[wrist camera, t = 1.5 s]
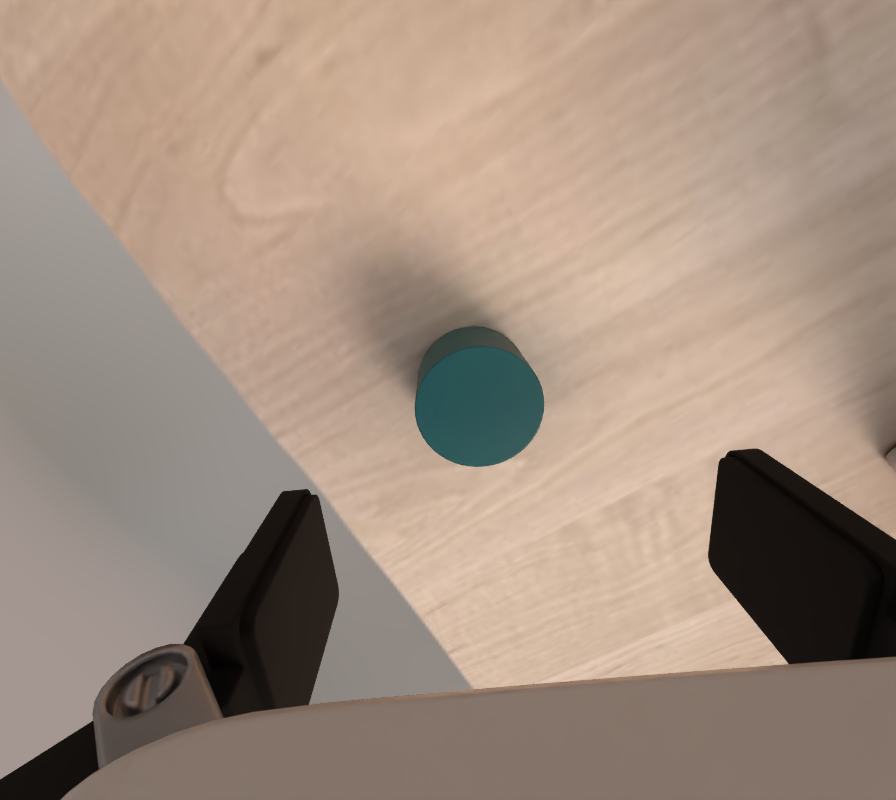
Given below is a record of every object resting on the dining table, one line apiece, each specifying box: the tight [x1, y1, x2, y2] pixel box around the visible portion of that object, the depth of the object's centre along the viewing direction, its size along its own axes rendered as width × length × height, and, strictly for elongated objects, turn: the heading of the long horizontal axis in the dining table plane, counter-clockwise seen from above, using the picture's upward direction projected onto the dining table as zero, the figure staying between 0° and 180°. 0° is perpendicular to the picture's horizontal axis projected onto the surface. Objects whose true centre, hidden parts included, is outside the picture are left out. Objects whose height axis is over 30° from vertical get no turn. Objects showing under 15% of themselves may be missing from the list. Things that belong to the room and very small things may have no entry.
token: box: [415, 327, 544, 467], centre depth 19 cm, size 5×5×4 cm
